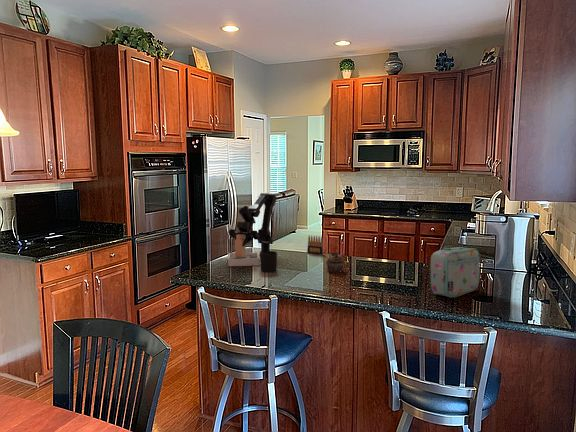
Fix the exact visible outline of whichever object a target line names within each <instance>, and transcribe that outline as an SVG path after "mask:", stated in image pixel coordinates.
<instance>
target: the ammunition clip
mask: <svg viewBox="0 0 576 432" xmlns="http://www.w3.org/2000/svg"><path fill="white" fill-rule="evenodd" d="M307 239H308V240H307V254H310V253H312V254H311V255H320V254H322V255H324V243H323V236H322V235H321V236H320V235H312V234H311V235H310V234H309V235H308V238H307Z"/></svg>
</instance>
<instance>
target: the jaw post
mask: <svg viewBox="0 0 576 432" xmlns="http://www.w3.org/2000/svg"><path fill="white" fill-rule="evenodd" d="M244 240H245V236H244V234H239V235H236V240H235V239H234V253H235V257H244V256H246V253H247V251H246V245H245V246H244V247H243V246H242V245H243V242H244Z"/></svg>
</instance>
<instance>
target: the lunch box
mask: <svg viewBox="0 0 576 432" xmlns="http://www.w3.org/2000/svg"><path fill="white" fill-rule="evenodd" d="M480 258H481V257H480V252H479V250H478V249H477V248H475V247H474V248H473V247H472V248H468V247H462V246H461V247H460V246H457V247H450V248H449V247H443V248H442V249H439V250H437V251H435V252H433V253H432V254H431V256H430V267H429V268H430V289H431V292H432V293H433V294H434V295H439V296H443V297H447V298H457V297H460V296H462V295H463V296H464V295H465V294H469V293H471V292H474V291H476V289H478V287H479V285H480V277H481V274H480V265H481V264H480V263H481V262H480V260H481V259H480Z"/></svg>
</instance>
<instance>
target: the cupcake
mask: <svg viewBox="0 0 576 432" xmlns="http://www.w3.org/2000/svg"><path fill="white" fill-rule="evenodd" d="M327 256H328V257H327V259H326V261H325V263H326V268H327V271H328V272H329V271H330V272H329V273H335V272H336V273H341V272H340V271H342V272H343V267H344V259H343V258H342V256H341V254H339V253H338V252H330V253H329V254H328V255H327Z"/></svg>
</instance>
